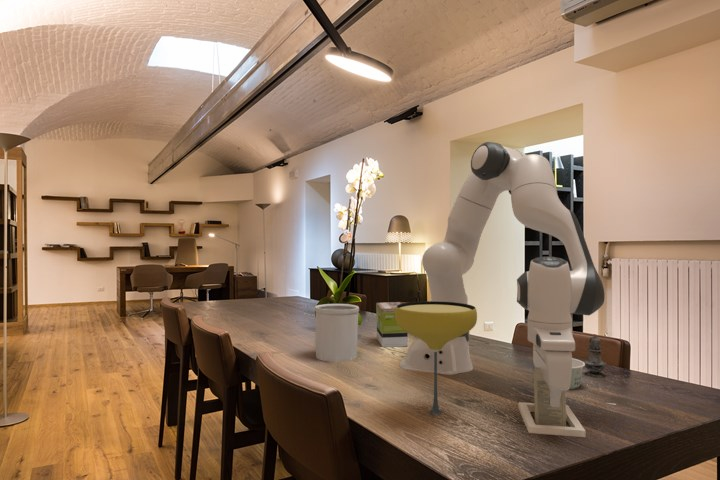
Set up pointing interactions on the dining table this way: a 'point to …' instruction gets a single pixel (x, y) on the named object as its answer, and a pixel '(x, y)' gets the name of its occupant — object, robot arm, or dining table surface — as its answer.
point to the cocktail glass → (436, 326)
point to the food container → (576, 373)
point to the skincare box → (547, 403)
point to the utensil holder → (336, 332)
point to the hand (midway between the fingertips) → (549, 398)
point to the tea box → (389, 326)
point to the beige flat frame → (574, 430)
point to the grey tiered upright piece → (594, 359)
